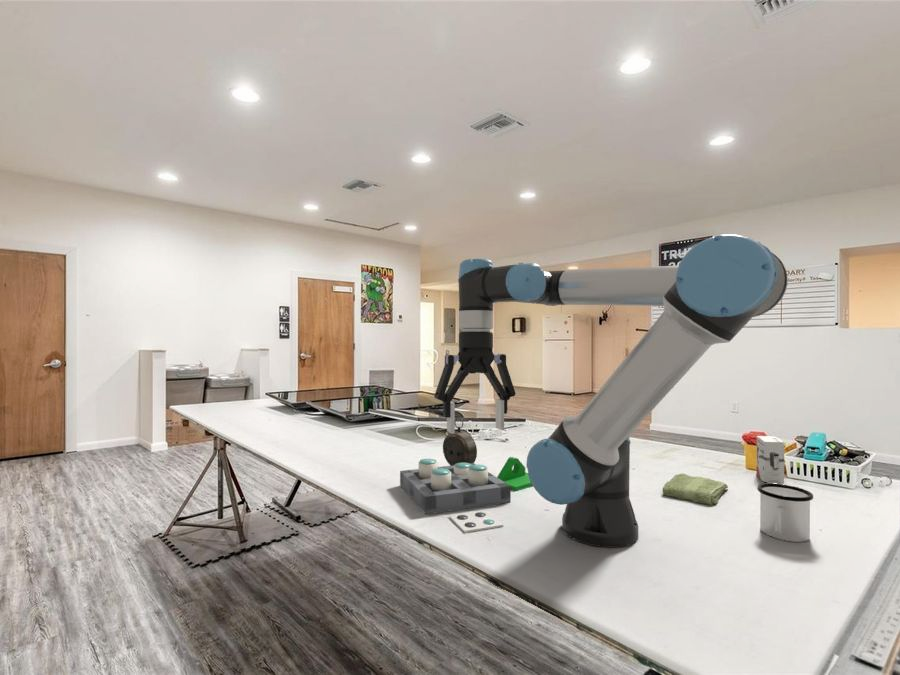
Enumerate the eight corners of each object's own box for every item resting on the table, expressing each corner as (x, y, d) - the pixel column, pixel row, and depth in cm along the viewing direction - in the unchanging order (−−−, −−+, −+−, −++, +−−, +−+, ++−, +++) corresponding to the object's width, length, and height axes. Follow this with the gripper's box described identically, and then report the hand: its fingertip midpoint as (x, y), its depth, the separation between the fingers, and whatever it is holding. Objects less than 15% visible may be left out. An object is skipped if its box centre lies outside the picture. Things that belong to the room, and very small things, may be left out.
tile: (503, 526, 101) (503, 523, 101) (464, 532, 97) (464, 530, 97) (485, 511, 109) (485, 509, 109) (449, 517, 106) (449, 514, 106)
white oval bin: (762, 521, 104) (762, 480, 104) (816, 533, 97) (816, 490, 97) (749, 538, 95) (749, 493, 95) (807, 553, 89) (808, 505, 89)
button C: (491, 486, 117) (491, 468, 117) (473, 488, 115) (473, 470, 115) (482, 480, 122) (482, 463, 122) (465, 482, 120) (465, 465, 120)
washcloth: (729, 490, 126) (729, 478, 126) (715, 508, 112) (715, 495, 112) (677, 480, 134) (677, 469, 134) (657, 496, 121) (657, 484, 121)
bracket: (515, 492, 124) (515, 466, 124) (495, 485, 130) (495, 460, 130) (545, 483, 131) (545, 458, 131) (524, 477, 137) (524, 453, 137)
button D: (475, 482, 127) (475, 466, 127) (457, 484, 125) (457, 468, 125) (467, 477, 131) (467, 461, 131) (451, 479, 130) (451, 463, 129)
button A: (454, 490, 114) (454, 472, 114) (434, 493, 112) (434, 474, 112) (446, 484, 118) (446, 467, 118) (428, 487, 117) (428, 469, 117)
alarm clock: (478, 473, 140) (478, 418, 140) (465, 477, 136) (465, 421, 136) (452, 466, 147) (452, 414, 147) (439, 469, 144) (439, 416, 144)
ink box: (755, 474, 139) (755, 434, 139) (774, 476, 137) (775, 436, 137) (764, 483, 131) (764, 440, 131) (784, 485, 129) (785, 442, 129)
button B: (440, 479, 123) (440, 462, 123) (421, 481, 121) (421, 464, 121) (433, 473, 128) (433, 457, 128) (416, 475, 126) (416, 459, 126)
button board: (510, 502, 115) (510, 485, 115) (425, 514, 107) (425, 496, 107) (474, 477, 136) (474, 463, 136) (400, 485, 128) (400, 470, 128)
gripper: (514, 331, 111) (514, 424, 111) (419, 330, 102) (419, 431, 103) (531, 330, 104) (531, 429, 104) (430, 330, 95) (430, 438, 95)
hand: (475, 430), depth 103 cm, fingers open, 11 cm apart
